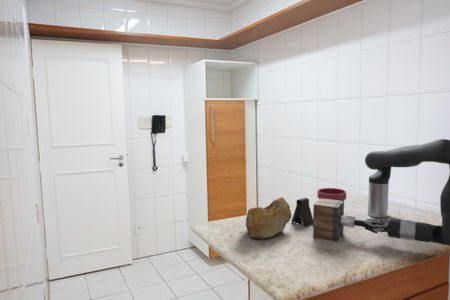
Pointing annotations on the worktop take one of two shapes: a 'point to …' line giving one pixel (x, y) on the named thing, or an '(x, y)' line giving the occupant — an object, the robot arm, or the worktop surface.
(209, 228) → the worktop surface
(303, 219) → the phone stand
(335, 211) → the housing
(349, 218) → the peg
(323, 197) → the plant pot
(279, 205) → the rough brown rock
